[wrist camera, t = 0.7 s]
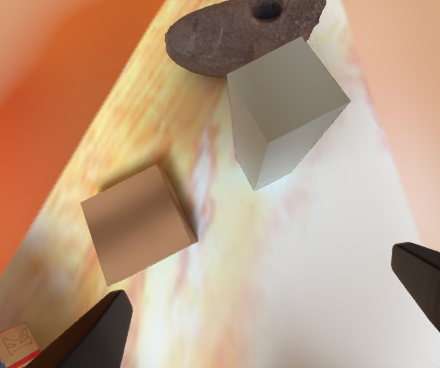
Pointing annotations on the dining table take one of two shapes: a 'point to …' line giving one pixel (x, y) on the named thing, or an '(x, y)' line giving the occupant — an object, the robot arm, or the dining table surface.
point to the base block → (137, 224)
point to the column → (281, 110)
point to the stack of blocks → (17, 347)
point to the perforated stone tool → (238, 33)
